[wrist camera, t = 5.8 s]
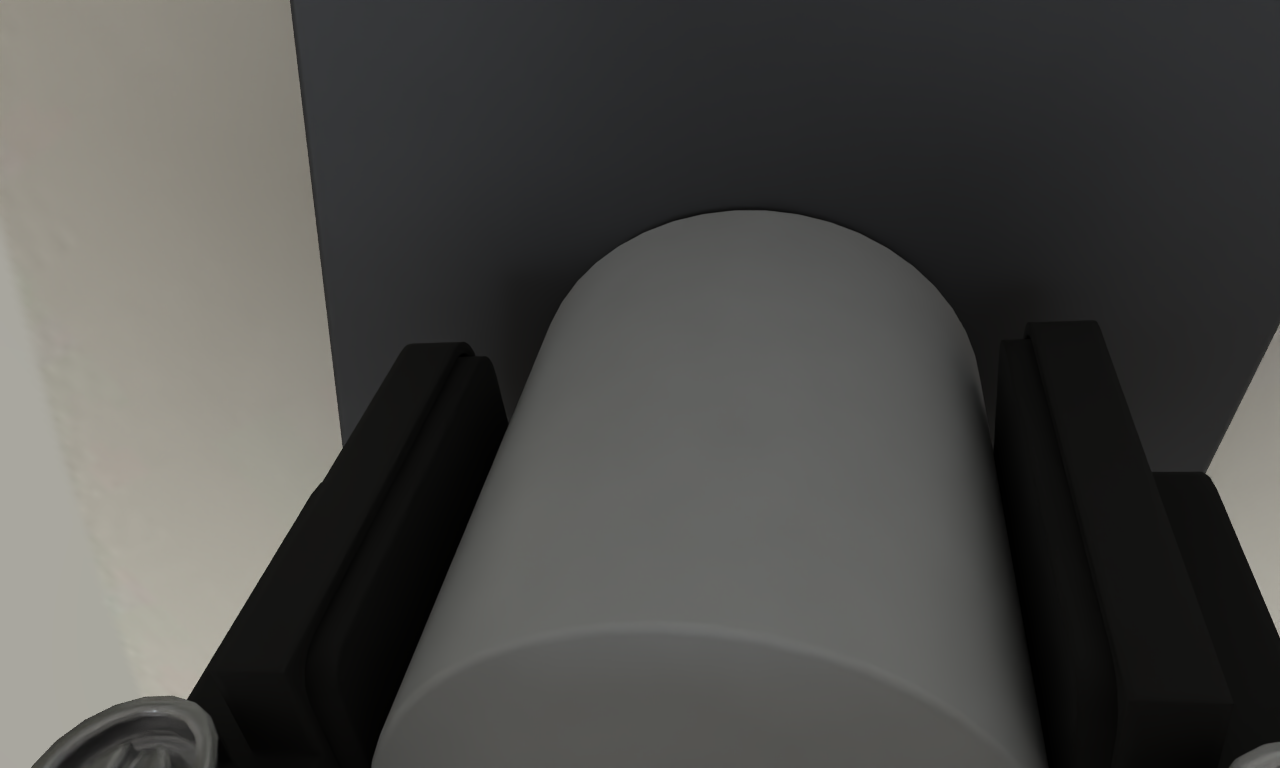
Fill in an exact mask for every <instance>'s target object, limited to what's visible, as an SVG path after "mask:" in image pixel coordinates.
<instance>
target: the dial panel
mask: <svg viewBox="0 0 1280 768" xmlns="http://www.w3.org/2000/svg"><path fill="white" fill-rule="evenodd" d="M290 4H291V13H292V21H293V30H294V38H295V47H296V55H297V64H298V72H299V81H300V89H301V98H302V106H303V115H304V123H305V132H306V140H307V149H308V157H309V165H310V174H311V182H312V191H313V199H314V208H315V216H316V225H317V233H318V242H319V250H320V259H321V267H322V276H323V284H324V293H325V301H326V310H327V318H328V326H329V335H330V343H331V352H332V360H333V369H334V377H335V386H336V394H337V403H338V411H339V420H340V428H341V437H342V445H343V447H344V445H345V444H346V442H347V440H348V439H349V437H350V435H351V434H352V432H353V430H354V429H355V427H356V425H357V424H358V422H359V421H360V419H361V417H362V416H363V414H364V412H365V411H366V409H367V407H368V406H369V404H370V402H371V401H372V399H373V397H374V396H375V394H376V392H377V391H378V389H379V387H380V386H381V384H382V382H383V381H384V379H385V377H386V376H387V374H388V372H389V371H390V369H391V367H392V366H393V364H394V362H395V361H396V359H397V357H398V356H399V354H400V352H401V351H402V350H403V348H404V347H405V346H406V345H408V344H412V343H441V342H466V343H468V344H469V345H470V346H471V348H472V349H473V351H474V353H475V356H487V357H488V358H490V360H491V362H492V363H493V366H494V369H495V372H496V376H497V380H498V384H499V388H500V392H501V396H502V400H503V404H504V408H505V412H506V416H507V419H508V423H510V420H511V418H512V416H513V413H514V411H515V408H516V406H517V404H518V401H519V399H520V396H521V394H522V392H523V389H524V387H525V384H526V382H527V379H528V377H529V375H530V372H531V370H532V367H533V365H534V363H535V360H536V358H537V355H538V353H539V351H540V348H541V346H542V343H543V341H544V338H545V336H546V334H547V331H548V329H549V326H550V324H551V322H552V320H553V318H554V316H555V314H556V312H557V311H558V309H559V307H560V305H561V303H562V301H563V300H564V299H565V297H566V296H567V295H568V293H569V292H570V291H571V289H572V288H573V287H574V285H575V284H576V283H577V281H578V280H579V279H580V278H581V277H582V276H583V275H584V274H585V273H586V272H587V271H588V270H589V269H590V268H591V267H592V266H593V265H594V264H595V263H597V262H598V261H599V260H601V259H602V258H603V257H605V256H606V255H607V254H609V253H610V252H612V251H613V250H614V249H616V248H617V247H618V246H620V245H622V244H624V243H626V242H627V241H629V240H631V239H633V238H635V237H637V236H638V235H640V234H642V233H644V232H647V231H649V230H652V229H655V228H657V227H660V226H662V225H665V224H668V223H670V222H673V221H677V220H681V219H685V218H689V217H693V216H697V215H701V214H708V213H716V212H725V211H733V210H767V211H775V212H783V213H792V214H799V215H803V216H807V217H811V218H815V219H820V220H824V221H828V222H831V223H834V224H836V225H839V226H842V227H844V228H847V229H850V230H852V231H855V232H858V233H860V234H862V235H864V236H866V237H867V238H869V239H871V240H873V241H875V242H877V243H879V244H881V245H883V246H885V247H886V248H888V249H890V250H891V251H892V252H894V253H895V254H897V255H898V256H900V257H901V258H902V259H904V260H905V261H907V262H908V263H909V264H911V265H912V266H914V267H915V268H916V269H917V270H918V271H919V272H920V273H921V274H922V275H923V276H924V277H925V278H926V279H927V280H929V281H930V282H931V283H932V284H933V285H934V286H935V287H936V288H937V290H938V291H939V292H940V293H941V295H942V296H943V297H944V298H945V300H946V301H947V302H948V303H949V305H950V306H951V307H952V308H953V310H954V312H955V314H956V315H957V317H958V319H959V321H960V322H961V324H962V326H963V327H964V329H965V331H966V333H967V336H968V338H969V341H970V343H971V346H972V349H973V351H974V354H975V357H976V362H977V367H978V371H979V376H980V381H981V387H982V393H983V398H984V404H985V410H986V415H987V421H988V426H989V432H990V438H991V443H992V449H993V450H994V433H995V416H996V398H997V381H998V364H999V350H1000V344H1001V341H1002V340H1012V339H1023V335H1024V330H1025V326H1026V324H1027V322H1052V321H1082V320H1095V321H1097V323H1098V325H1099V326H1100V329H1101V332H1102V334H1103V337H1104V340H1105V343H1106V346H1107V348H1108V351H1109V354H1110V357H1111V360H1112V362H1113V365H1114V368H1115V371H1116V374H1117V376H1118V379H1119V382H1120V385H1121V388H1122V390H1123V393H1124V396H1125V399H1126V402H1127V405H1128V407H1129V410H1130V413H1131V416H1132V419H1133V421H1134V424H1135V427H1136V430H1137V433H1138V435H1139V438H1140V441H1141V444H1142V447H1143V449H1144V452H1145V455H1146V458H1147V461H1148V463H1149V466H1150V469H1151V472H1203V473H1206V471H1207V469H1208V467H1209V465H1210V463H1211V461H1212V459H1213V457H1214V455H1215V453H1216V451H1217V449H1218V447H1219V445H1220V443H1221V441H1222V439H1223V437H1224V435H1225V433H1226V431H1227V429H1228V427H1229V425H1230V423H1231V421H1232V419H1233V417H1234V415H1235V412H1236V410H1237V408H1238V406H1239V404H1240V402H1241V400H1242V398H1243V396H1244V394H1245V392H1246V390H1247V388H1248V386H1249V384H1250V382H1251V380H1252V378H1253V376H1254V374H1255V372H1256V370H1257V368H1258V366H1259V364H1260V362H1261V360H1262V358H1263V356H1264V354H1265V352H1266V350H1267V348H1268V346H1269V344H1270V342H1271V340H1272V338H1273V336H1274V334H1275V332H1276V330H1277V328H1278V326H1279V324H1280V0H290Z"/></svg>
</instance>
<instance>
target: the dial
mask: <svg viewBox="0 0 1280 768" xmlns="http://www.w3.org/2000/svg"><path fill="white" fill-rule="evenodd" d="M371 768H1049V766H1048V760H1047V754H1046V749H1045V743H1044V737H1043V732H1042V726H1041V720H1040V715H1039V709H1038V703H1037V698H1036V692H1035V686H1034V681H1033V675H1032V669H1031V664H1030V658H1029V653H1028V647H1027V641H1026V636H1025V630H1024V624H1023V619H1022V613H1021V607H1020V602H1019V596H1018V590H1017V585H1016V579H1015V573H1014V568H1013V562H1012V556H1011V551H1010V545H1009V539H1008V534H1007V528H1006V523H1005V517H1004V511H1003V506H1002V500H1001V494H1000V489H999V483H998V477H997V472H996V466H995V460H994V455H993V449H992V443H991V438H990V432H989V426H988V421H987V415H986V410H985V404H984V398H983V393H982V387H981V381H980V376H979V371H978V367H977V362H976V357H975V354H974V351H973V349H972V346H971V343H970V341H969V338H968V336H967V333H966V331H965V329H964V327H963V326H962V324H961V322H960V321H959V319H958V317H957V315H956V314H955V312H954V310H953V308H952V307H951V306H950V305H949V303H948V302H947V301H946V300H945V298H944V297H943V296H942V295H941V293H940V292H939V291H938V290H937V288H936V287H935V286H934V285H933V284H932V283H931V282H930V281H929V280H927V279H926V278H925V277H924V276H923V275H922V274H921V273H920V272H919V271H918V270H917V269H916V268H915V267H914V266H912V265H911V264H909V263H908V262H907V261H905V260H904V259H902V258H901V257H900V256H898V255H897V254H895V253H894V252H892V251H891V250H890V249H888V248H886V247H885V246H883V245H881V244H879V243H877V242H875V241H873V240H871V239H869V238H867V237H866V236H864V235H862V234H860V233H858V232H855V231H852V230H850V229H847V228H844V227H842V226H839V225H836V224H834V223H831V222H828V221H824V220H820V219H815V218H811V217H807V216H803V215H799V214H792V213H783V212H775V211H767V210H733V211H725V212H716V213H708V214H701V215H697V216H693V217H689V218H685V219H681V220H677V221H673V222H670V223H668V224H665V225H662V226H660V227H657V228H655V229H652V230H649V231H647V232H644V233H642V234H640V235H638V236H637V237H635V238H633V239H631V240H629V241H627V242H626V243H624V244H622V245H620V246H618V247H617V248H616V249H614V250H613V251H612V252H610V253H609V254H607V255H606V256H605V257H603V258H602V259H601V260H599V261H598V262H597V263H595V264H594V265H593V266H592V267H591V268H590V269H589V270H588V271H587V272H586V273H585V274H584V275H583V276H582V277H581V278H580V279H579V280H578V281H577V283H576V284H575V285H574V287H573V288H572V289H571V291H570V292H569V293H568V295H567V296H566V297H565V299H564V300H563V301H562V303H561V305H560V307H559V309H558V311H557V312H556V314H555V316H554V318H553V320H552V322H551V324H550V326H549V329H548V331H547V334H546V336H545V338H544V341H543V343H542V346H541V348H540V351H539V353H538V355H537V358H536V360H535V363H534V365H533V367H532V370H531V372H530V375H529V377H528V379H527V382H526V384H525V387H524V389H523V392H522V394H521V396H520V399H519V401H518V404H517V406H516V408H515V411H514V413H513V416H512V418H511V420H510V423H509V425H508V428H507V430H506V432H505V435H504V437H503V440H502V442H501V445H500V447H499V449H498V452H497V454H496V457H495V459H494V461H493V464H492V466H491V469H490V471H489V473H488V476H487V478H486V481H485V483H484V486H483V488H482V490H481V493H480V495H479V498H478V500H477V502H476V505H475V507H474V510H473V512H472V514H471V517H470V519H469V522H468V524H467V526H466V529H465V531H464V534H463V536H462V539H461V541H460V543H459V546H458V548H457V551H456V553H455V555H454V558H453V560H452V563H451V565H450V567H449V570H448V572H447V575H446V577H445V579H444V582H443V584H442V587H441V589H440V592H439V594H438V596H437V599H436V601H435V604H434V606H433V608H432V611H431V613H430V616H429V618H428V620H427V623H426V625H425V628H424V630H423V633H422V635H421V637H420V640H419V642H418V645H417V647H416V649H415V652H414V654H413V657H412V659H411V661H410V664H409V666H408V669H407V671H406V673H405V676H404V678H403V681H402V683H401V686H400V688H399V690H398V693H397V695H396V698H395V700H394V702H393V705H392V707H391V710H390V712H389V714H388V717H387V719H386V722H385V724H384V727H383V729H382V731H381V734H380V736H379V739H378V743H377V746H376V749H375V752H374V756H373V759H372V766H371Z"/></svg>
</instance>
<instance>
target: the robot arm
mask: <svg viewBox="0 0 1280 768" xmlns="http://www.w3.org/2000/svg"><path fill="white" fill-rule="evenodd" d="M508 425H509V423H508V419H507V416H506V412H505V408H504V404H503V400H502V396H501V392H500V388H499V384H498V380H497V376H496V372H495V369H494V366H493V363H492V362H491V360H490V358H488V357H487V356H475V353H474V351H473V349H472V348H471V346H470V345H469V344H468V343H466V342H441V343H412V344H408V345H406V346H405V347H404V348H403V350H402V351H401V352H400V354H399V356H398V357H397V359H396V361H395V362H394V364H393V366H392V367H391V369H390V371H389V372H388V374H387V376H386V377H385V379H384V381H383V382H382V384H381V386H380V387H379V389H378V391H377V392H376V394H375V396H374V397H373V399H372V401H371V402H370V404H369V406H368V407H367V409H366V411H365V412H364V414H363V416H362V417H361V419H360V421H359V422H358V424H357V425H356V427H355V429H354V430H353V432H352V434H351V435H350V437H349V439H348V440H347V442H346V444H345V445H344V447H343V449H342V450H341V452H340V454H339V455H338V457H337V459H336V460H335V462H334V464H333V465H332V467H331V469H330V470H329V472H328V474H327V475H326V477H325V479H324V480H323V482H322V483H320V485H319V486H318V487H317V488H316V489H315V491H314V492H313V493H312V494H311V496H310V498H309V499H308V501H307V502H306V504H305V506H304V507H303V509H302V511H301V512H300V514H299V516H298V517H297V519H296V521H295V522H294V524H293V526H292V527H291V529H290V531H289V532H288V534H287V535H286V537H285V539H284V540H283V542H282V544H281V545H280V547H279V549H278V550H277V552H276V554H275V555H274V557H273V559H272V560H271V562H270V564H269V565H268V567H267V568H266V570H265V572H264V573H263V575H262V577H261V578H260V580H259V582H258V583H257V585H256V587H255V588H254V590H253V592H252V593H251V595H250V597H249V598H248V600H247V602H246V603H245V605H244V606H243V608H242V610H241V611H240V613H239V615H238V616H237V618H236V620H235V621H234V623H233V625H232V626H231V628H230V630H229V631H228V633H227V635H226V636H225V638H224V639H223V641H222V643H221V644H220V646H219V648H218V649H217V651H216V653H215V654H214V656H213V658H212V659H211V661H210V663H209V664H208V666H207V668H206V669H205V671H204V672H203V674H202V676H201V677H200V679H199V681H198V682H197V684H196V686H195V687H194V689H193V691H192V692H191V694H190V696H189V697H188V699H187V700H185V699H182V698H179V697H175V696H153V697H143V698H139V699H135V700H132V701H128V702H125V703H121V704H117V705H115V706H112V707H110V708H108V709H106V710H104V711H102V712H100V713H98V714H96V715H94V716H92V717H90V718H88V719H86V720H84V721H83V722H82V723H80V724H79V725H77V726H76V727H75V728H73V729H72V730H70V731H69V732H68V733H66V734H65V735H64V736H62V737H61V738H59V739H58V740H57V741H56V742H55V743H54V744H53V745H52V746H51V747H50V748H49V749H48V750H47V751H46V752H45V753H44V754H43V755H42V756H41V757H40V758H39V759H38V760H37V762H36V763H35V764H34V765H33V766H32V767H31V768H371V766H372V759H373V756H374V752H375V749H376V746H377V743H378V739H379V736H380V734H381V731H382V729H383V727H384V724H385V722H386V719H387V717H388V714H389V712H390V710H391V707H392V705H393V702H394V700H395V698H396V695H397V693H398V690H399V688H400V686H401V683H402V681H403V678H404V676H405V673H406V671H407V669H408V666H409V664H410V661H411V659H412V657H413V654H414V652H415V649H416V647H417V645H418V642H419V640H420V637H421V635H422V633H423V630H424V628H425V625H426V623H427V620H428V618H429V616H430V613H431V611H432V608H433V606H434V604H435V601H436V599H437V596H438V594H439V592H440V589H441V587H442V584H443V582H444V579H445V577H446V575H447V572H448V570H449V567H450V565H451V563H452V560H453V558H454V555H455V553H456V551H457V548H458V546H459V543H460V541H461V539H462V536H463V534H464V531H465V529H466V526H467V524H468V522H469V519H470V517H471V514H472V512H473V510H474V507H475V505H476V502H477V500H478V498H479V495H480V493H481V490H482V488H483V486H484V483H485V481H486V478H487V476H488V473H489V471H490V469H491V466H492V464H493V461H494V459H495V457H496V454H497V452H498V449H499V447H500V445H501V442H502V440H503V437H504V435H505V432H506V430H507V428H508ZM993 455H994V460H995V466H996V472H997V477H998V483H999V489H1000V494H1001V500H1002V506H1003V511H1004V517H1005V523H1006V528H1007V534H1008V539H1009V545H1010V551H1011V556H1012V562H1013V568H1014V573H1015V579H1016V585H1017V590H1018V596H1019V602H1020V607H1021V613H1022V619H1023V624H1024V630H1025V636H1026V641H1027V647H1028V653H1029V658H1030V664H1031V669H1032V675H1033V681H1034V686H1035V692H1036V698H1037V703H1038V709H1039V715H1040V720H1041V726H1042V732H1043V737H1044V743H1045V749H1046V754H1047V760H1048V766H1049V768H1280V637H1279V635H1278V632H1277V630H1276V628H1275V625H1274V623H1273V621H1272V618H1271V616H1270V613H1269V611H1268V609H1267V606H1266V604H1265V602H1264V599H1263V597H1262V595H1261V592H1260V590H1259V588H1258V585H1257V583H1256V580H1255V578H1254V576H1253V573H1252V571H1251V569H1250V566H1249V564H1248V562H1247V559H1246V557H1245V554H1244V552H1243V550H1242V547H1241V545H1240V543H1239V540H1238V538H1237V536H1236V533H1235V531H1234V529H1233V526H1232V524H1231V521H1230V519H1229V517H1228V514H1227V512H1226V510H1225V507H1224V505H1223V503H1222V500H1221V498H1220V496H1219V493H1218V491H1217V489H1216V487H1215V485H1214V484H1213V482H1212V480H1211V478H1210V477H1209V476H1208V475H1206V474H1205V473H1203V472H1151V469H1150V466H1149V463H1148V461H1147V458H1146V455H1145V452H1144V449H1143V447H1142V444H1141V441H1140V438H1139V435H1138V433H1137V430H1136V427H1135V424H1134V421H1133V419H1132V416H1131V413H1130V410H1129V407H1128V405H1127V402H1126V399H1125V396H1124V393H1123V390H1122V388H1121V385H1120V382H1119V379H1118V376H1117V374H1116V371H1115V368H1114V365H1113V362H1112V360H1111V357H1110V354H1109V351H1108V348H1107V346H1106V343H1105V340H1104V337H1103V334H1102V332H1101V329H1100V326H1099V325H1098V323H1097V321H1095V320H1082V321H1052V322H1027V324H1026V326H1025V330H1024V335H1023V339H1012V340H1002V341H1001V344H1000V350H999V364H998V381H997V398H996V416H995V433H994V450H993Z"/></svg>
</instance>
